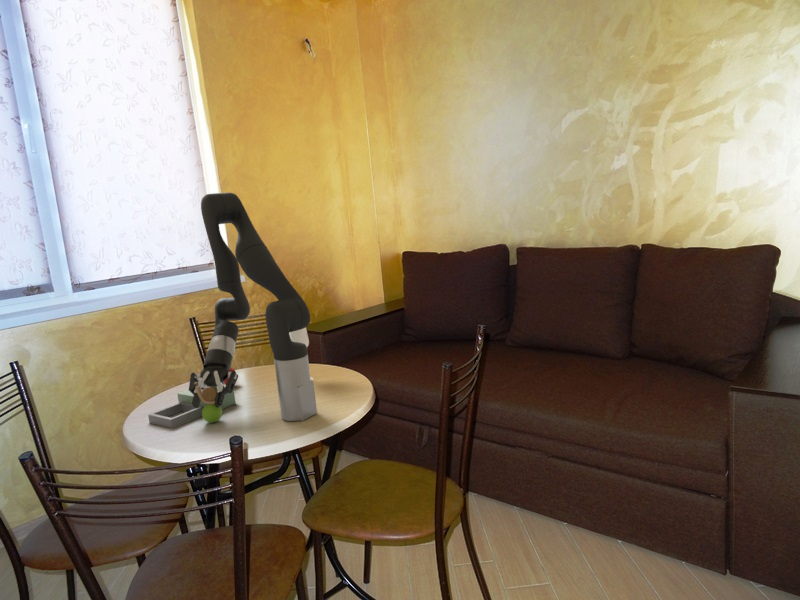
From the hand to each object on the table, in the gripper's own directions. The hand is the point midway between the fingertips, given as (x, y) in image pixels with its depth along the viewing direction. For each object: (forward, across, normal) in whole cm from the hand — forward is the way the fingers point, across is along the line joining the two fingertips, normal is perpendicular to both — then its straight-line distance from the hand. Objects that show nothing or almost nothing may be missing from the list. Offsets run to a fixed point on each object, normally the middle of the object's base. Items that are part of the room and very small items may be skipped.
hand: (206, 406), depth 144 cm
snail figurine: (+3, 0, +5) cm, 6 cm away
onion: (-20, -10, +28) cm, 36 cm away
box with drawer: (-3, -11, +11) cm, 15 cm away
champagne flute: (-23, +16, +30) cm, 41 cm away
